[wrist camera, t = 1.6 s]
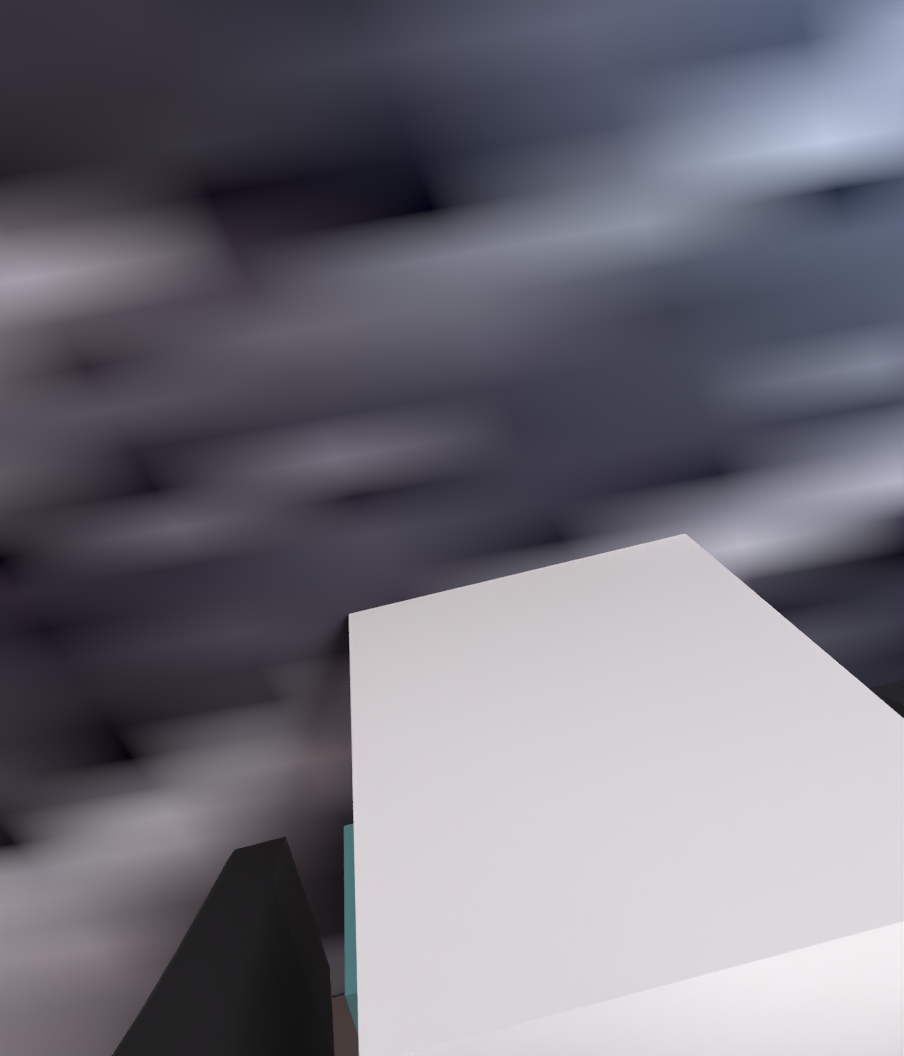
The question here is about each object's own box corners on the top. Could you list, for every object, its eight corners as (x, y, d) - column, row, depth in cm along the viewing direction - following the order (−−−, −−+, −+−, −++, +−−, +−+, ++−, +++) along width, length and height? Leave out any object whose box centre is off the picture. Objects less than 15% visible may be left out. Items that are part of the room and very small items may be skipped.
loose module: (684, 532, 12) (1084, 872, 6) (713, 785, 14) (1055, 1282, 7) (334, 617, 12) (328, 1075, 5) (404, 864, 13) (464, 1456, 7)
